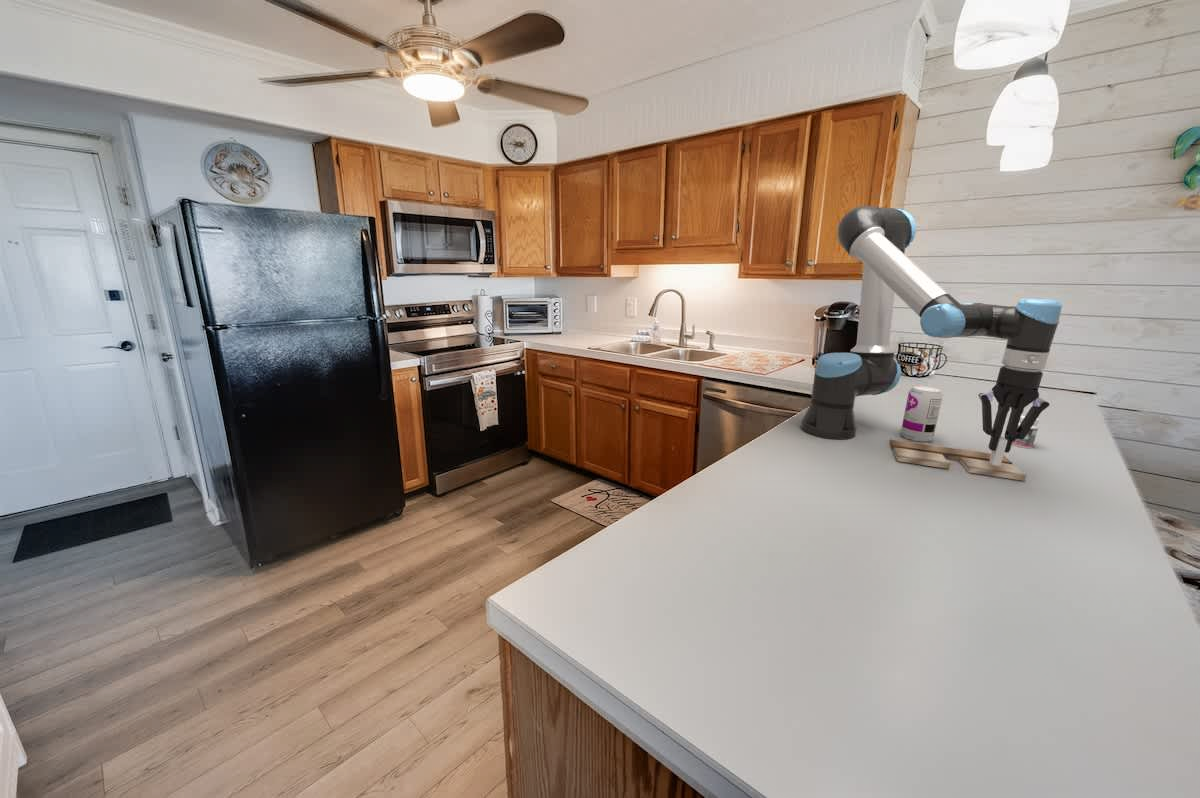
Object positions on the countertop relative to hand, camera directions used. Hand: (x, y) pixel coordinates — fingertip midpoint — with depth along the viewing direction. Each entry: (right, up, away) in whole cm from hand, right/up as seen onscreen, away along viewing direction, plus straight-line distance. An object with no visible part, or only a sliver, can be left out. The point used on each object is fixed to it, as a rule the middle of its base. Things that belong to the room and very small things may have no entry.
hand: (994, 463), depth 116 cm
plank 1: (-13, 0, +8) cm, 15 cm away
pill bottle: (+25, +2, +22) cm, 33 cm away
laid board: (-3, 0, +12) cm, 13 cm away
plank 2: (+1, -2, +3) cm, 3 cm away
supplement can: (-2, +4, +26) cm, 26 cm away
